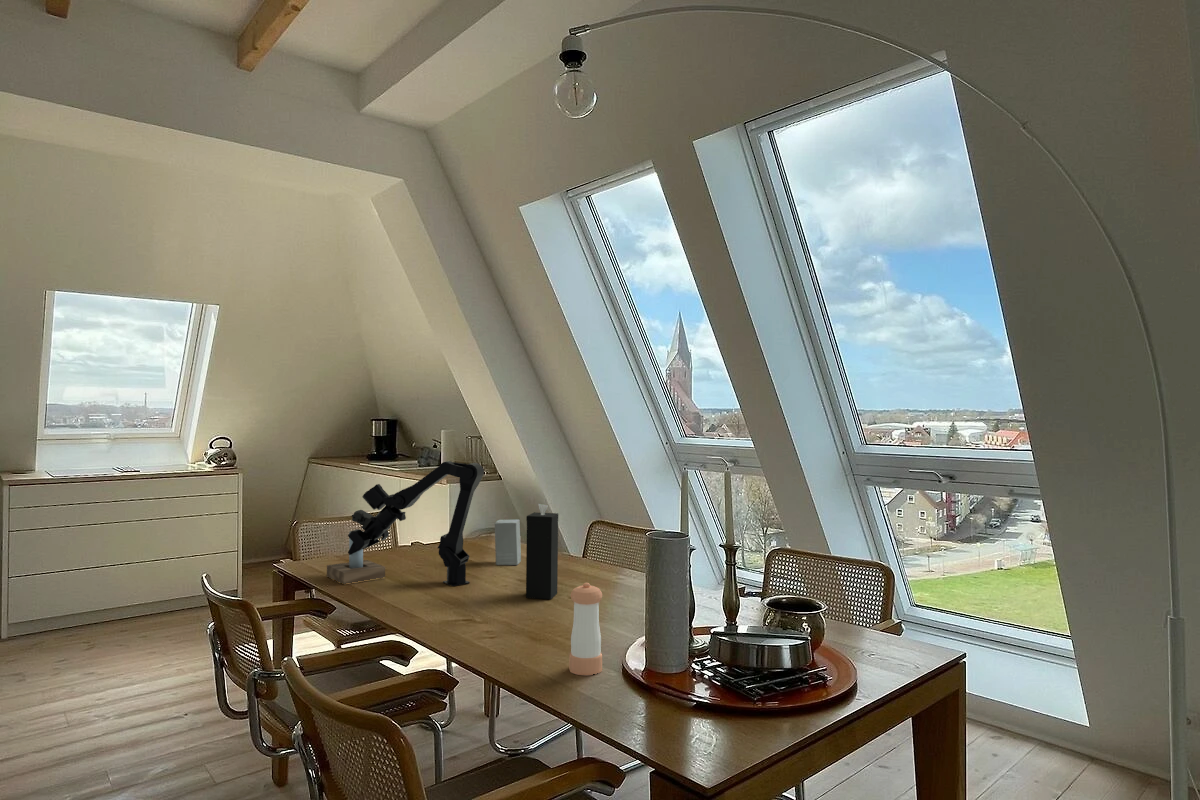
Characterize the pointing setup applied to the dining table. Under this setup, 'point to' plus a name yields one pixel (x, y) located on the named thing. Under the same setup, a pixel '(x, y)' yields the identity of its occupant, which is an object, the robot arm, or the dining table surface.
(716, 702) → the dining table surface
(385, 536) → the robot arm
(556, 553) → the tissue box
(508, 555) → the skincare box
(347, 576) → the socket block
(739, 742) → the dining table surface
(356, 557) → the peg
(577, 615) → the salt shaker
